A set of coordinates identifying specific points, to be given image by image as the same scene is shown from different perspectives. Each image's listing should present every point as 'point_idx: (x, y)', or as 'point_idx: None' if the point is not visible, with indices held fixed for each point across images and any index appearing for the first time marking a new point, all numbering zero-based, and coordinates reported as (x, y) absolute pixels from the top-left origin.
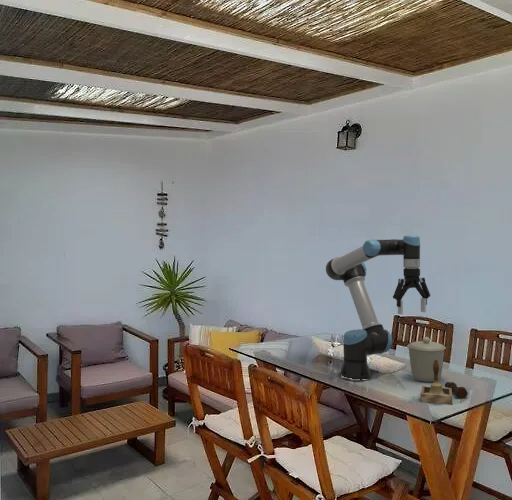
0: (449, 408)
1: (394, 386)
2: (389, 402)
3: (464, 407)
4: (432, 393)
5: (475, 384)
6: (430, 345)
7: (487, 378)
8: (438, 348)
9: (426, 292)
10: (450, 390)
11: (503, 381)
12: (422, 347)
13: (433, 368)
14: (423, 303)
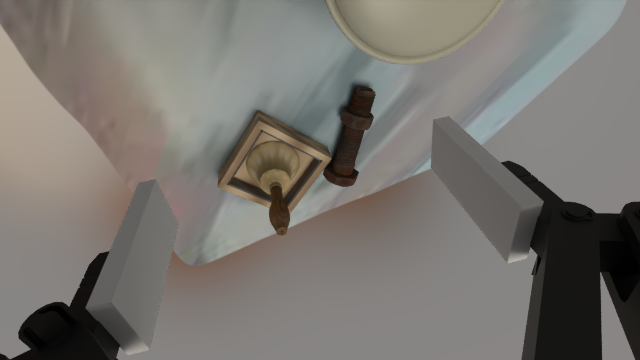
0: (264, 221)
1: (196, 6)
2: (123, 163)
3: (301, 220)
4: (256, 178)
5: (473, 61)
6: (414, 23)
7: (567, 6)
8: (430, 52)
9: (624, 308)
10: (314, 175)
11: (570, 54)
12: (360, 26)
13: (269, 214)
14: (475, 205)
